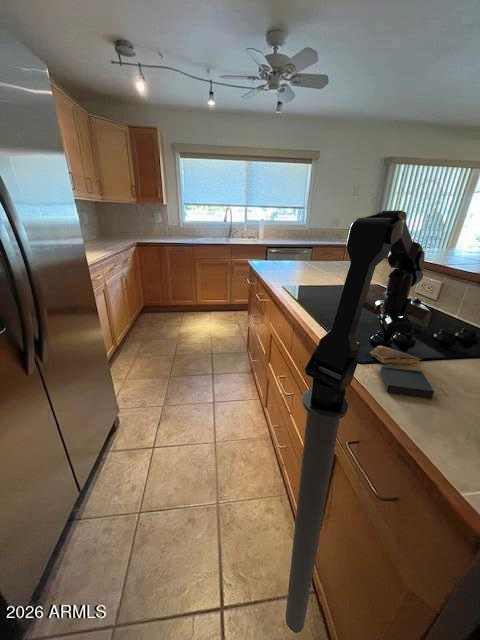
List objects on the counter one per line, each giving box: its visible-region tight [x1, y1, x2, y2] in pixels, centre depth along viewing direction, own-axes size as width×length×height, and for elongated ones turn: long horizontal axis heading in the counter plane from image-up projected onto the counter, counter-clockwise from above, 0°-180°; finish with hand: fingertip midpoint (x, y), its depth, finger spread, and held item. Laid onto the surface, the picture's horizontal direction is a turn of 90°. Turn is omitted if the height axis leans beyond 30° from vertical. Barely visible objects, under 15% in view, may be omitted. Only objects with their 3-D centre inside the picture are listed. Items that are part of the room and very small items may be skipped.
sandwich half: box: [369, 345, 423, 364], centre depth 71 cm, size 11×8×2 cm
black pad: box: [379, 365, 435, 400], centre depth 62 cm, size 9×8×2 cm
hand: (386, 341), depth 79 cm, fingers closed
